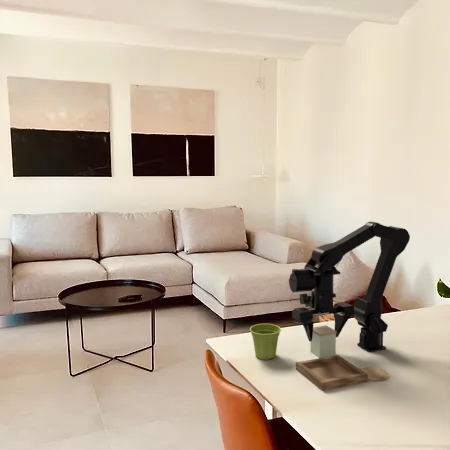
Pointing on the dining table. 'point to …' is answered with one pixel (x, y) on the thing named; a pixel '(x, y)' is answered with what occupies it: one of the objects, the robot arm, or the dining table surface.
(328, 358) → the walnut tray
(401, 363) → the dining table surface
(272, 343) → the plant pot
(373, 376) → the cork coaster
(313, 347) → the sage canister
